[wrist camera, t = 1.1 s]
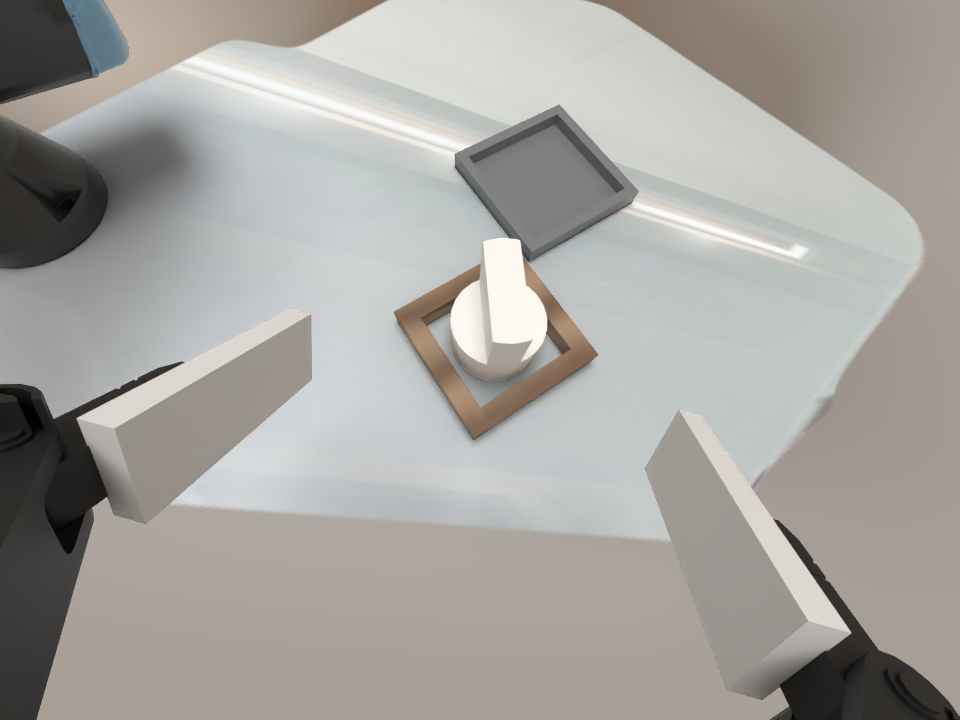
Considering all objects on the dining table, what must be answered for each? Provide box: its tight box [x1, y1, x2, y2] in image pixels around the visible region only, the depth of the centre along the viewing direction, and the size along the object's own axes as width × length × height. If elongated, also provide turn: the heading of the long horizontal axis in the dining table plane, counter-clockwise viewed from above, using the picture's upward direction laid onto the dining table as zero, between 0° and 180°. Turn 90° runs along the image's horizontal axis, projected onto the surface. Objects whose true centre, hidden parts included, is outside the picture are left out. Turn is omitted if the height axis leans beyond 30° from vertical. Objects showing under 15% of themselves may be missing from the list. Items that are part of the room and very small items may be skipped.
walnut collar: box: [394, 258, 598, 440], centre depth 38 cm, size 15×15×2 cm
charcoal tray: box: [455, 105, 639, 262], centre depth 44 cm, size 16×16×2 cm
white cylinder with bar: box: [450, 238, 547, 382], centre depth 33 cm, size 9×9×12 cm
